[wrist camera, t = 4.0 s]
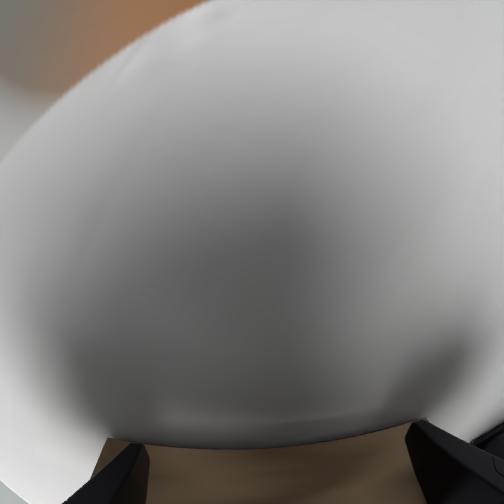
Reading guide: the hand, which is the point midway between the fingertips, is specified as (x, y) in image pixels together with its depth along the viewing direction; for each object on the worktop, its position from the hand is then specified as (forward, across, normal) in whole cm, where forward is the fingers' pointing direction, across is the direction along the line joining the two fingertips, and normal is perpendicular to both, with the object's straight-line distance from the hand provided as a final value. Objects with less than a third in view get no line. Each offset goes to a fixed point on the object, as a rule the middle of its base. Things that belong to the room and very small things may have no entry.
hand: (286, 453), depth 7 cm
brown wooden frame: (+2, 0, +8) cm, 8 cm away
